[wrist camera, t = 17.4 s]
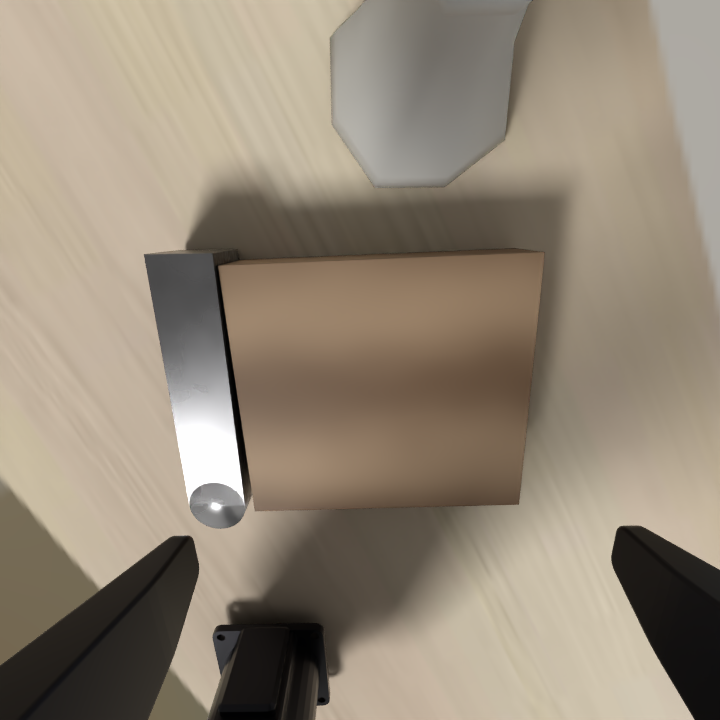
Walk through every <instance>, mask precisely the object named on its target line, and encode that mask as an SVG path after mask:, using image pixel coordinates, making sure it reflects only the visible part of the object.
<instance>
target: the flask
mask: <svg viewBox="0 0 720 720" xmlns="http://www.w3.org/2000/svg"><path fill="white" fill-rule="evenodd" d="M531 1H533V0H365V1H364V3H363V4H362V5H361V6H360V7H359V8H358V10H357V11H356V12H354V13H353V14H352V15H351V16H350V17H349V18H348V19H347V20H346V21H345V22H344V23H343V24H342V25H341V26H340V27H339V28H338V29H337V30H336V31H335V32H334V33H333V35H332V36H331V37H330V65H331V108H332V126H333V127H334V129H335V130H336V132H337V133H338V135H339V136H340V138H341V139H342V140H343V142H344V143H345V145H346V146H347V148H348V149H349V151H350V152H351V154H352V155H353V157H354V158H355V159H356V161H357V162H358V164H359V165H360V167H361V168H362V170H363V171H364V173H365V174H366V175H367V177H368V178H369V180H370V181H371V183H372V184H373V186H374V187H375V188H405V187H445V186H447V185H448V184H449V183H450V182H452V181H453V180H454V179H456V178H457V177H458V176H459V175H461V174H462V173H463V172H465V171H466V170H467V169H468V168H470V167H471V166H472V165H473V164H475V163H476V162H477V161H479V160H480V159H481V158H482V157H484V156H485V155H486V154H488V153H489V152H490V151H491V150H493V149H494V148H495V147H497V146H498V145H499V144H500V143H502V142H503V141H504V140H505V132H506V122H507V112H508V102H509V92H510V82H511V72H512V62H513V52H514V42H515V39H516V36H517V34H518V31H519V28H520V26H521V23H522V20H523V18H524V15H525V12H526V10H527V7H528V4H529V3H530V2H531Z"/></svg>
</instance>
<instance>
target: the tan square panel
mask: <svg viewBox="0 0 720 720" xmlns="http://www.w3.org/2000/svg"><path fill="white" fill-rule="evenodd" d="M544 255H545V252H538V251H531V250H523V249H516V248H513V249H489V250H465V251H441V252H417V253H393V254H369V255H345V256H321V257H297V258H273V259H249V260H239V261H235V262H231V263H227V264H223V265H219V266H218V269H219V276H220V283H221V289H222V296H223V303H224V309H225V316H226V323H227V329H228V336H229V342H230V349H231V356H232V362H233V369H234V376H235V382H236V389H237V396H238V402H239V409H240V415H241V422H242V429H243V435H244V442H245V449H246V455H247V462H248V469H249V475H250V482H251V488H252V495H253V502H254V508H255V511H283V510H322V509H361V508H400V507H439V506H478V505H516V504H519V499H520V489H521V479H522V469H523V460H524V450H525V440H526V430H527V421H528V411H529V401H530V391H531V382H532V372H533V362H534V353H535V343H536V333H537V323H538V314H539V304H540V294H541V284H542V275H543V265H544Z"/></svg>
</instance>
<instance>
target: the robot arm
mask: <svg viewBox="0 0 720 720" xmlns="http://www.w3.org/2000/svg"><path fill="white" fill-rule="evenodd" d="M611 561H612V566H613V569H614V571H615V573H616V575H617V577H618V579H619V581H620V583H621V585H622V587H623V590H624V592H625V594H626V596H627V598H628V600H629V602H630V604H631V606H632V608H633V610H634V612H635V614H636V616H637V618H638V620H639V623H640V625H641V627H642V629H643V631H644V633H645V635H646V637H647V639H648V641H649V643H650V645H651V647H652V648H653V650H654V652H655V654H656V655H657V657H658V659H659V661H660V662H661V664H662V666H663V667H664V669H665V671H666V673H667V674H668V676H669V678H670V679H671V681H672V683H673V684H674V686H675V688H676V689H677V691H678V693H679V694H680V696H681V698H682V699H683V701H684V703H685V704H686V706H687V708H688V710H689V711H690V713H691V715H692V716H693V718H694V720H720V570H719V569H717V568H715V567H713V566H712V565H710V564H708V563H706V562H705V561H703V560H701V559H699V558H697V557H696V556H694V555H692V554H690V553H689V552H687V551H685V550H683V549H681V548H680V547H678V546H676V545H674V544H673V543H671V542H669V541H667V540H665V539H664V538H662V537H660V536H658V535H656V534H655V533H653V532H651V531H649V530H648V529H646V528H644V527H642V526H620V527H619V528H618V529H617V531H616V536H615V541H614V545H613V550H612V555H611ZM198 575H199V563H198V558H197V553H196V549H195V544H194V540H193V538H192V537H191V536H172V537H170V538H169V539H167V540H166V541H164V542H163V543H162V544H160V545H159V546H158V547H157V548H155V549H154V550H153V551H151V552H150V553H149V554H147V555H146V556H145V557H143V558H142V559H141V560H139V561H138V562H137V563H135V564H134V565H133V566H131V567H130V568H129V569H127V570H126V571H125V572H123V573H122V574H121V575H119V576H118V577H117V578H115V579H114V580H113V581H111V582H110V583H109V584H108V585H106V586H105V587H104V588H102V589H101V590H100V591H98V592H97V593H96V594H94V595H93V596H92V597H90V598H89V599H88V600H86V601H85V602H84V603H82V604H81V605H80V606H78V607H77V608H76V609H74V610H73V611H72V612H71V613H69V614H68V615H66V616H65V617H64V618H62V619H61V620H60V621H59V622H57V623H56V624H55V625H53V626H52V627H51V628H49V629H48V630H47V631H45V632H44V633H43V634H41V635H40V636H39V637H37V638H36V639H35V640H34V641H32V642H31V643H29V644H28V645H27V646H25V647H24V648H23V649H22V650H20V651H19V652H17V653H16V654H15V655H14V656H13V657H11V658H10V659H8V660H7V661H6V662H4V663H3V664H2V665H0V720H148V718H149V716H150V713H151V711H152V709H153V706H154V704H155V701H156V699H157V696H158V694H159V691H160V689H161V686H162V684H163V682H164V679H165V677H166V674H167V672H168V669H169V667H170V664H171V662H172V659H173V656H174V654H175V651H176V647H177V644H178V641H179V638H180V635H181V632H182V628H183V625H184V622H185V618H186V615H187V612H188V609H189V605H190V602H191V599H192V595H193V592H194V589H195V585H196V582H197V579H198ZM213 642H214V647H215V651H216V656H217V660H218V665H219V669H220V674H221V679H220V682H219V685H218V688H217V691H216V694H215V697H214V700H213V704H212V707H211V710H210V713H209V716H208V719H207V720H315V717H316V708H317V706H319V705H326V704H328V703H329V700H330V687H329V676H328V666H327V655H326V645H325V634H324V628H323V626H322V625H320V624H318V623H294V624H240V625H219V626H217V627H216V628H215V631H214V633H213Z"/></svg>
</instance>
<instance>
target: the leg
mask: <svg viewBox="0 0 720 720" xmlns="http://www.w3.org/2000/svg"><path fill="white" fill-rule="evenodd" d="M144 257H145V263H146V268H147V274H148V279H149V285H150V290H151V296H152V301H153V307H154V312H155V318H156V323H157V329H158V334H159V340H160V345H161V351H162V357H163V362H164V368H165V373H166V379H167V384H168V390H169V395H170V401H171V406H172V412H173V417H174V423H175V428H176V434H177V439H178V445H179V450H180V456H181V461H182V467H183V472H184V478H185V483H186V489H187V494H188V500H189V505H190V509H191V512H192V513H193V515H194V516H195V518H196V519H197V520H199V521H200V522H201V523H203V524H204V525H206V526H209V527H212V528H220V529H221V528H228V527H231V526H234V525H235V524H237V523H238V522H239V521H240V520H241V519H242V517H243V515H244V513H245V511H246V508H247V506H248V504H249V501H250V499H251V496H252V488H251V482H250V475H249V469H248V462H247V455H246V449H245V442H244V435H243V429H242V422H241V415H240V409H239V402H238V396H237V389H236V382H235V376H234V369H233V362H232V356H231V349H230V342H229V336H228V329H227V323H226V316H225V309H224V303H223V296H222V289H221V283H220V276H219V269H218V266H219V265H223V264H227V263H231V262H235V261H239V257H238V249H219V250H177V251H168V252H160V253H151V254H144Z"/></svg>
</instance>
